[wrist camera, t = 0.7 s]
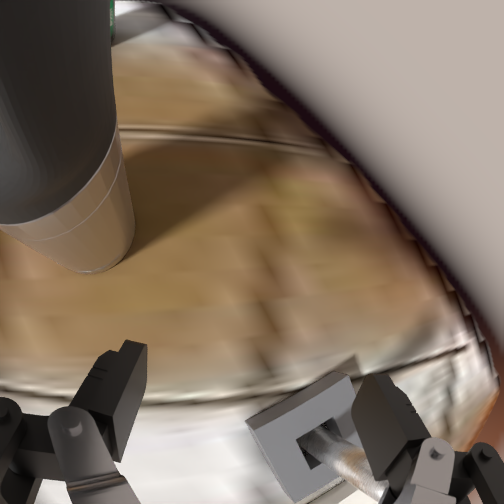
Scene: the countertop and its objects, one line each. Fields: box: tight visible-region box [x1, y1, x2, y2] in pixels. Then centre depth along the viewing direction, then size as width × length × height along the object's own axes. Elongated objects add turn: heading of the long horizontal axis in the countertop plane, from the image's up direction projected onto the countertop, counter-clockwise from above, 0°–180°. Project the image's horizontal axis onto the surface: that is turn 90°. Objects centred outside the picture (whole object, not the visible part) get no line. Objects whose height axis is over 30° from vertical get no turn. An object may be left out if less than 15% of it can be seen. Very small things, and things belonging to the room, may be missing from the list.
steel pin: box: [296, 425, 389, 503], centre depth 21 cm, size 5×5×18 cm
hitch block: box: [245, 371, 363, 503], centre depth 28 cm, size 11×11×3 cm
